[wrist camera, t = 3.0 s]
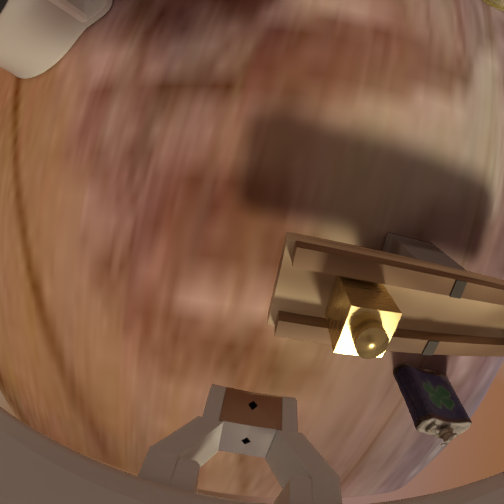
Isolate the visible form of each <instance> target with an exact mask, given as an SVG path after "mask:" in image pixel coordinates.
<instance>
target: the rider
mask: <svg viewBox="0 0 504 504" xmlns="http://www.w3.org/2000/svg"><path fill="white" fill-rule="evenodd" d="M401 315H402V312H401V311H400V309H399V308H398V306H397V305H396V303H395V302H394V300H393V299H392V297H391V295H390V294H389V292H388V291H387V289H386V288H385V286H384V285H383V284H380V283H375V282H369V281H364V280H358V279H353V278H348V277H342V276H337V277H336V281H335V284H334V287H333V290H332V293H331V297H330V300H329V303H328V306H327V309H326V312H325V318H326V322H327V326H328V331H329V335H330V339H331V343H332V348H333V352H334V353H340V354H349V355H358V356H360V357H362V358H366V359H371V358H375V357H379V358H382V356H383V354H384V352H385V350H386V349H387V347H388V345H389V342H390V340H391V338H392V335H393V333H394V331H395V329H396V327H397V324H398V322H399V320H400V318H401Z"/></svg>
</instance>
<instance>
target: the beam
mask: <svg viewBox="0 0 504 504" xmlns="http://www.w3.org/2000/svg"><path fill="white" fill-rule="evenodd" d="M337 276H342V277H348V278H353V279H358V280H364V281H369V282H375V283H380V284H383V285H384V286H385V288H386V289H387V291H388V292H389V294H390V295H391V297H392V299H393V300H394V302H395V303H396V305H397V306H398V308H399V309H400V311H401V312H402V315H401V318H400V320H399V322H398V324H397V327H396V329H395V331H394V333H393V335H392V338H391V340H390V342H389V345H388V347H387V349H386V350H385V351H394V352H405V353H419V354H422V355H433V354H435V355H456V356H504V280H502V279H498V278H494V277H490V276H486V275H482V274H478V273H474V272H470V271H466V270H465V269H464V268H463V267H461V266H460V265H459V264H458V263H456V262H455V261H454V260H453V259H451V258H450V257H449V256H447V255H446V254H445V253H444V252H442V251H441V250H440V249H438V248H437V247H436V246H434V245H433V244H431V243H428V242H424V241H420V240H416V239H412V238H408V237H404V236H400V235H396V234H392V233H388V234H387V237H386V240H385V244H384V247H383V250H382V251H378V250H374V249H369V248H364V247H360V246H355V245H350V244H346V243H341V242H336V241H331V240H326V239H321V238H316V237H311V236H306V235H301V234H296V233H291V232H286V236H285V241H284V245H283V250H282V254H281V259H280V263H279V268H278V272H277V277H276V281H275V285H274V290H273V294H272V298H271V303H270V307H269V311H268V323H267V324H269V325H274V326H275V336H277V337H283V338H289V339H296V340H302V341H309V342H316V343H323V344H330V345H332V343H331V339H330V335H329V331H328V326H327V322H326V318H325V312H326V309H327V306H328V303H329V300H330V297H331V293H332V290H333V287H334V284H335V281H336V277H337Z"/></svg>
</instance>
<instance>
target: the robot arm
mask: <svg viewBox="0 0 504 504" xmlns="http://www.w3.org/2000/svg"><path fill="white" fill-rule="evenodd" d="M112 1H113V0H0V67H1V68H3V69H5V70H7V71H9V72H11V73H12V74H13V75H15V76H17V77H19V78H31V77H35V76H37V75H39V74H41V73H43V72H45V71H46V70H48V69H49V68H51V67H52V66H53V65H54V64H56V63H57V62H58V61H59V60H60V59H61V58H62V57H63V56H64V55H65V54H66V53H67V52H68V50H69V49H70V48H71V47H72V46H73V44H74V43H75V42H76V40H77V39H78V38H79V36H80V35H81V34H82V33H83V32H84V30H85V29H86V28H87V27H89V26H90V25H92V24H93V23H94V22H96V21H97V20H98V19H100V18H101V17H102V16H104V15H105V14H106V13H107V12H108V11H109V9H110V8H111V5H112ZM218 450H219V451H225V452H232V453H239V454H245V455H251V456H257V457H263V458H265V459H266V461H267V463H268V464H269V466H270V468H271V470H272V471H273V473H274V475H275V476H276V478H277V480H278V481H279V483H280V485H281V486H282V488H283V490H282V491H281V493H280V494H279V496H278V497H277V499H276V500H275V502H274V503H273V504H342V497H341V488H340V479H339V475H338V474H337V473H336V472H335V471H334V470H333V469H332V467H331V466H330V465H329V464H328V463H327V462H326V461H325V459H324V458H323V457H322V456H321V455H320V454H319V452H318V451H317V450H316V449H315V448H314V447H313V445H312V444H311V443H310V442H309V441H308V439H307V438H306V437H305V436H304V435H303V433H299V432H298V420H297V400H296V398H291V397H283V396H282V397H281V396H275V395H268V394H261V393H255V392H254V393H253V392H248V391H243V390H238V389H234V388H229V387H227V388H226V387H223V386H219V385H215V384H212V386H211V388H210V391H209V395H208V398H207V402H206V406H205V409H204V413H203V416H202V417H200V416H198V417H196V418H195V419H193V420H192V421H190V422H189V423H187V424H186V425H184V426H183V427H181V428H180V429H178V430H177V431H175V432H173V433H172V434H170V435H169V436H167V437H166V438H164V439H162V440H161V441H159V442H158V443H156V444H154V445H153V446H151V447H150V448H149V450H148V453H147V455H146V458H145V460H144V463H143V465H142V468H141V470H140V473H139V475H138V476H135V475H132V474H130V473H127V472H124V471H121V470H119V469H116V468H113V467H111V466H108V465H106V464H103V463H101V462H99V461H96V460H94V459H92V458H90V457H87V456H85V455H83V454H81V453H79V452H77V451H74V450H72V449H70V448H68V447H66V446H64V445H62V444H60V443H59V442H57V441H55V440H53V439H51V438H49V437H47V436H46V435H44V434H42V433H40V432H39V431H37V430H35V429H34V428H32V427H30V426H29V425H27V424H25V423H24V422H22V421H21V420H19V419H17V418H16V417H14V416H13V415H11V414H10V413H8V412H7V411H5V410H4V409H3V408H1V407H0V504H265V503H254V502H246V501H239V500H232V499H226V498H220V497H215V496H210V495H205V494H200V493H197V488H198V478H199V469H200V467H201V466H202V465H203V464H205V463H206V462H207V461H208V460H209V459H210V458H211V457H212V456H214V455H215V454H216V453H217V452H218ZM371 504H504V472H501V473H499V474H496V475H493V476H491V477H488V478H485V479H482V480H479V481H476V482H473V483H470V484H467V485H464V486H460V487H457V488H453V489H449V490H445V491H442V492H437V493H433V494H428V495H424V496H418V497H413V498H407V499H401V500H395V501H388V502H380V503H371Z"/></svg>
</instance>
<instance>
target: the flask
mask: <svg viewBox="0 0 504 504" xmlns="http://www.w3.org/2000/svg"><path fill="white" fill-rule="evenodd" d="M393 375H394V377H395V379H396V381H397V383H398V385H399V388H400V391H401V393H402V395H403V397H404V399H405V401H406V404H407V407H408V409H409V412H410V414H411V416H412V419H413V421H414V425H415V428H416V429H417V430H418V431H420V432H423V433H425V434H429V435H435V436H436V437H438V438H441V439H444V440H443V441H444V442H450V441H451V440H452V439H453V438H454V437H457V436H458V434H460V433H463V432H464V431H466V430H467V429H468V428H469V427H470V425H471V423H472V422H471V420H470V418H469V417H468V415H467V413H466V411H465V409H464V407H463V406H462V404H461V402H460V400H459V398H458V397H457V395H456V393H455V391H454V389H453V387H452V385H451V383H450V382H449V380H448V377H447V376H446V375H444V374H443V373H441V372H439V373H436V372H434V371H432V370H430V369H424V370H422V369H421V367H420V368H416V367H415V366H414V365H411V364H408V363H404V364H401V365H398V367H396V369H395V370H394V372H393ZM445 445H447V443H446V444H445V443H442V444H441V446H442V447H443V446H445Z"/></svg>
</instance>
